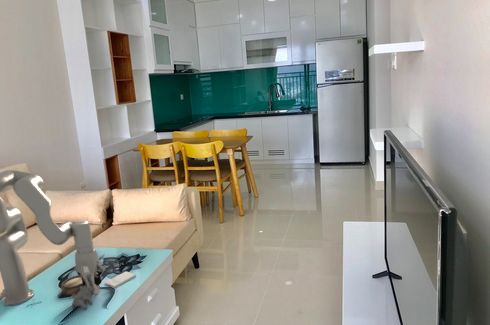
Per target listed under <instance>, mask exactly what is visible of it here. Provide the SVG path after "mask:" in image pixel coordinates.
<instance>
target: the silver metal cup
mask: <svg viewBox="0 0 490 325" xmlns="http://www.w3.org/2000/svg"><path fill="white" fill-rule="evenodd" d="M81 270H82V277H83V279H84V282H85V284H86V287H90V286H93V287H94V288H95V290H94V292H93V293H90V294H91V297H92V296H96V295H98V294H100V293H101V287H100V284H99V285H98V286H97V285H96V281H95V278H96V276H95V275H94V273H92V274H91V273H90V272H89V269H88V267H87V266H81ZM97 274H98V273H97Z"/></svg>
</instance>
